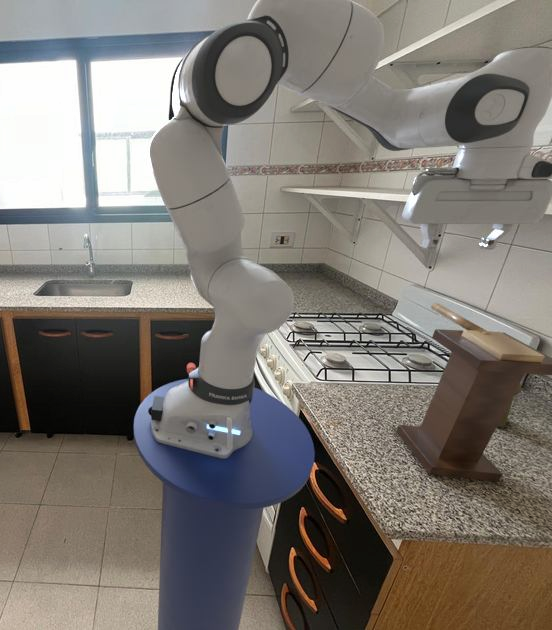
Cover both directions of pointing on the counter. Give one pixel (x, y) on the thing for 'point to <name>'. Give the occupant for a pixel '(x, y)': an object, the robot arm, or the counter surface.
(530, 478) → the counter surface
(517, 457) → the counter surface
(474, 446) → the stand
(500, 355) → the spatula
